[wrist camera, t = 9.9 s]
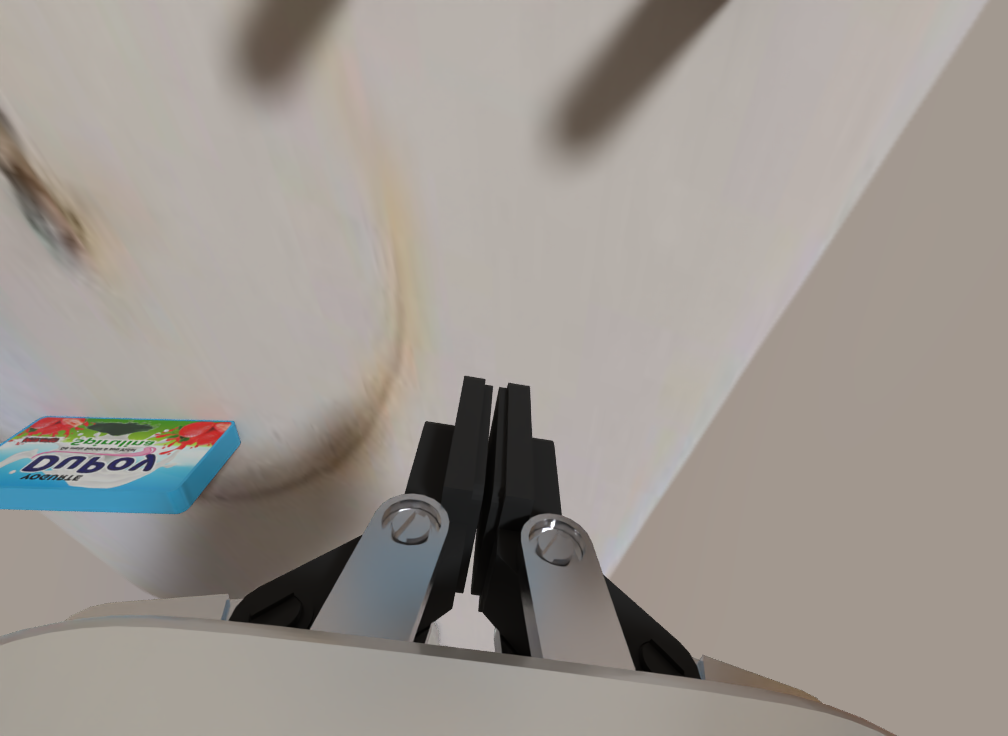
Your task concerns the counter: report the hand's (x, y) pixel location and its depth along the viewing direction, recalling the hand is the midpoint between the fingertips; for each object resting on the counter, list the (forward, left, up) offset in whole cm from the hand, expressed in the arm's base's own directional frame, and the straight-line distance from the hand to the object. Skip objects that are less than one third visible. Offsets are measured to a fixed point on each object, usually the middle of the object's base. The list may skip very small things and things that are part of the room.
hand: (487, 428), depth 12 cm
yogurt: (-14, +20, -14) cm, 28 cm away
